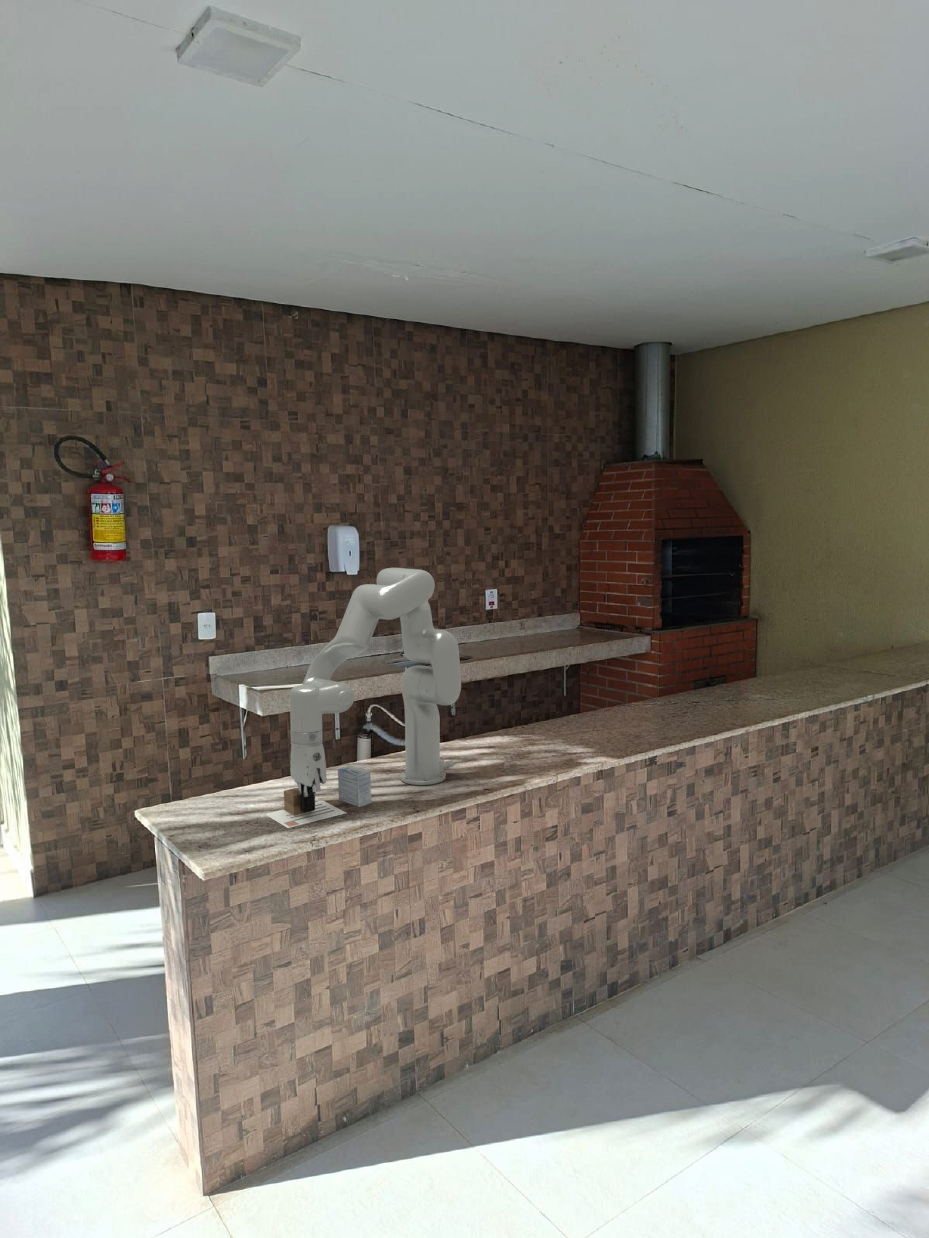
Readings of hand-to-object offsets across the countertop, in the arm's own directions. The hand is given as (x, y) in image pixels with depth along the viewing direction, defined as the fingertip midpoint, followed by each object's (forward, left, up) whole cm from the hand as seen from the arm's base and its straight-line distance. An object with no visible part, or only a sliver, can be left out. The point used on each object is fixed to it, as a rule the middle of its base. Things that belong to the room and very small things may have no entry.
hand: (307, 810), depth 212 cm
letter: (-1, -2, -2) cm, 3 cm away
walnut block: (0, -5, -1) cm, 5 cm away
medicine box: (-15, -2, -2) cm, 15 cm away
